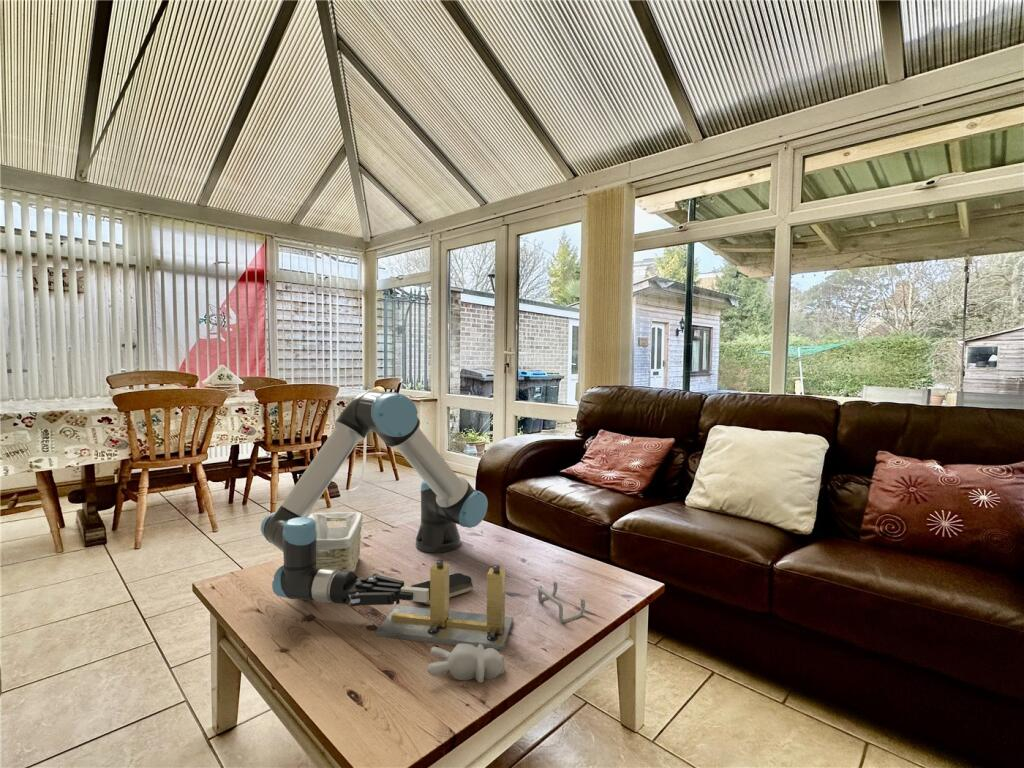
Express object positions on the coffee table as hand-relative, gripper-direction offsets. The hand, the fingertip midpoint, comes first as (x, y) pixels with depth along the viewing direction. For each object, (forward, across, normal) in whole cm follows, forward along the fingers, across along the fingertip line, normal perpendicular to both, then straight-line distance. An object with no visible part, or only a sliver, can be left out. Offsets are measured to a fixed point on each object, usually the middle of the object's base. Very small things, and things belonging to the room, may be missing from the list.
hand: (427, 595), depth 116 cm
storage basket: (-38, -22, -8) cm, 45 cm away
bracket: (+31, -15, -8) cm, 35 cm away
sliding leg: (+3, +1, -6) cm, 7 cm away
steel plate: (+5, 0, -8) cm, 9 cm away
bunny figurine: (+14, +15, -8) cm, 22 cm away
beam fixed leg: (+5, +1, -7) cm, 8 cm away
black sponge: (-2, -16, -8) cm, 19 cm away
